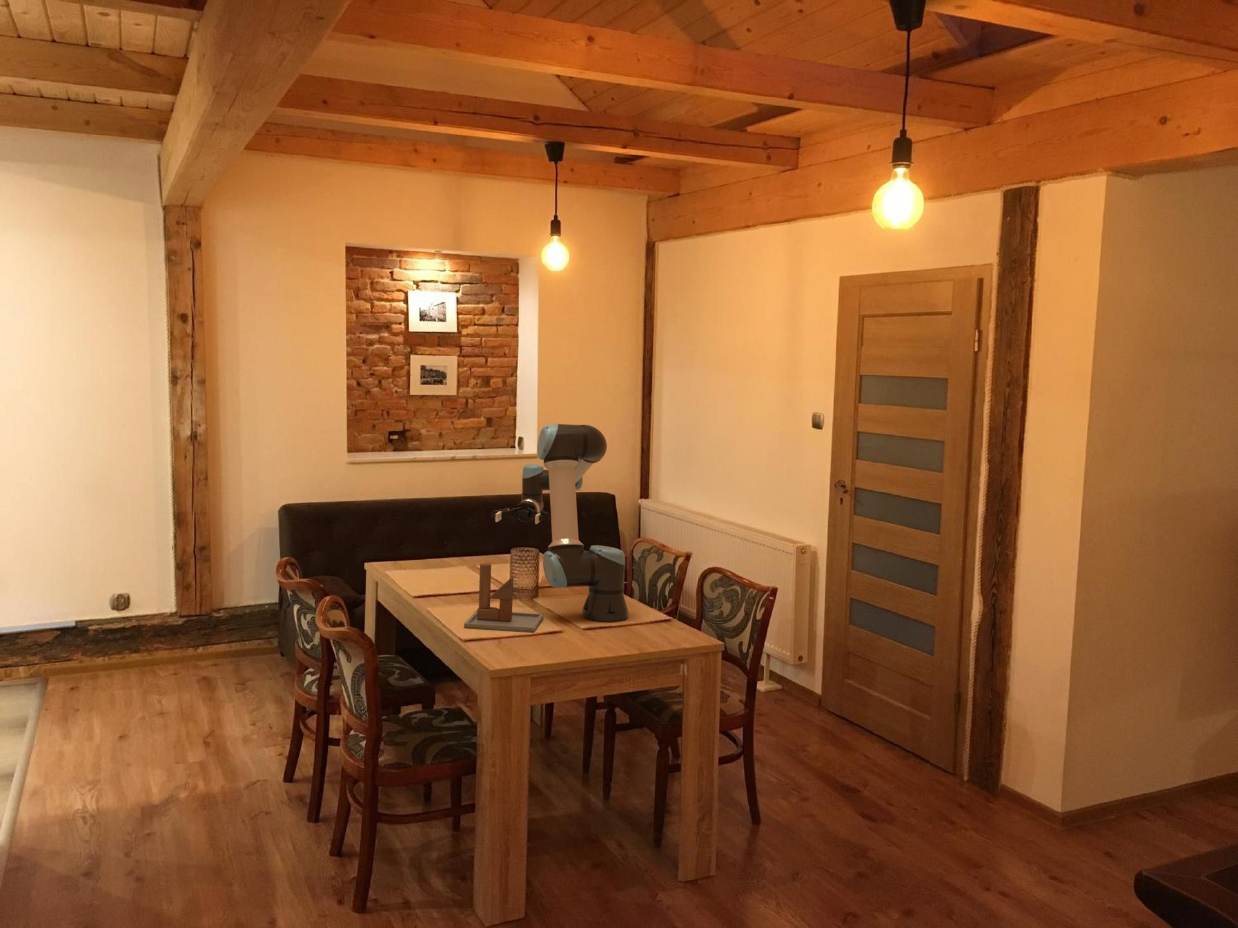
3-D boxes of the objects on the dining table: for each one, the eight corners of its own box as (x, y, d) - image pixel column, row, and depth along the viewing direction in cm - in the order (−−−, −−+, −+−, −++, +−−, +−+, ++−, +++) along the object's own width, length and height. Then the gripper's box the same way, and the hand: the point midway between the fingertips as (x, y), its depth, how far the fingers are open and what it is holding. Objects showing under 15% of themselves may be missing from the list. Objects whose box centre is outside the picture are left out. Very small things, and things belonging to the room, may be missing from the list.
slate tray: (543, 618, 346) (543, 613, 346) (533, 632, 328) (533, 627, 328) (477, 614, 348) (477, 609, 348) (464, 627, 330) (464, 623, 330)
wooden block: (509, 622, 337) (511, 566, 335) (476, 619, 338) (478, 564, 336) (512, 619, 341) (513, 564, 339) (479, 617, 342) (480, 562, 340)
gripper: (561, 522, 379) (552, 531, 358) (492, 519, 381) (479, 528, 360) (562, 501, 378) (553, 509, 357) (493, 498, 380) (480, 506, 359)
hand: (516, 518), depth 358 cm, fingers open, 13 cm apart
